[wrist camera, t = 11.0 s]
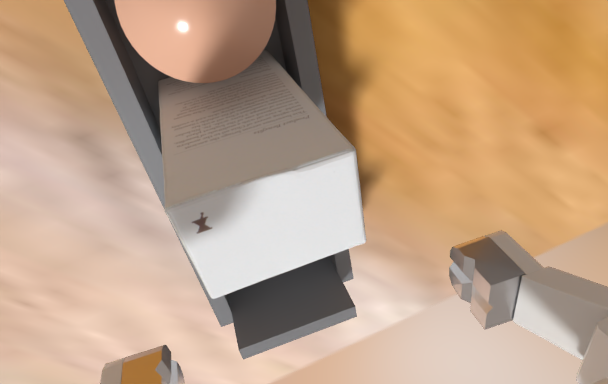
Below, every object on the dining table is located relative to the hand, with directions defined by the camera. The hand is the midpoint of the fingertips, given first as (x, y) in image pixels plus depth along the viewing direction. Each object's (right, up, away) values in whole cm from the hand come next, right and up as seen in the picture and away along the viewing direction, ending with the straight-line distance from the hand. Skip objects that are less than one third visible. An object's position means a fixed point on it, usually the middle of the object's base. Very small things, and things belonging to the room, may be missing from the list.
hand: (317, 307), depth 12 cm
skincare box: (-5, +8, +12) cm, 15 cm away
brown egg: (-6, +13, +8) cm, 16 cm away
